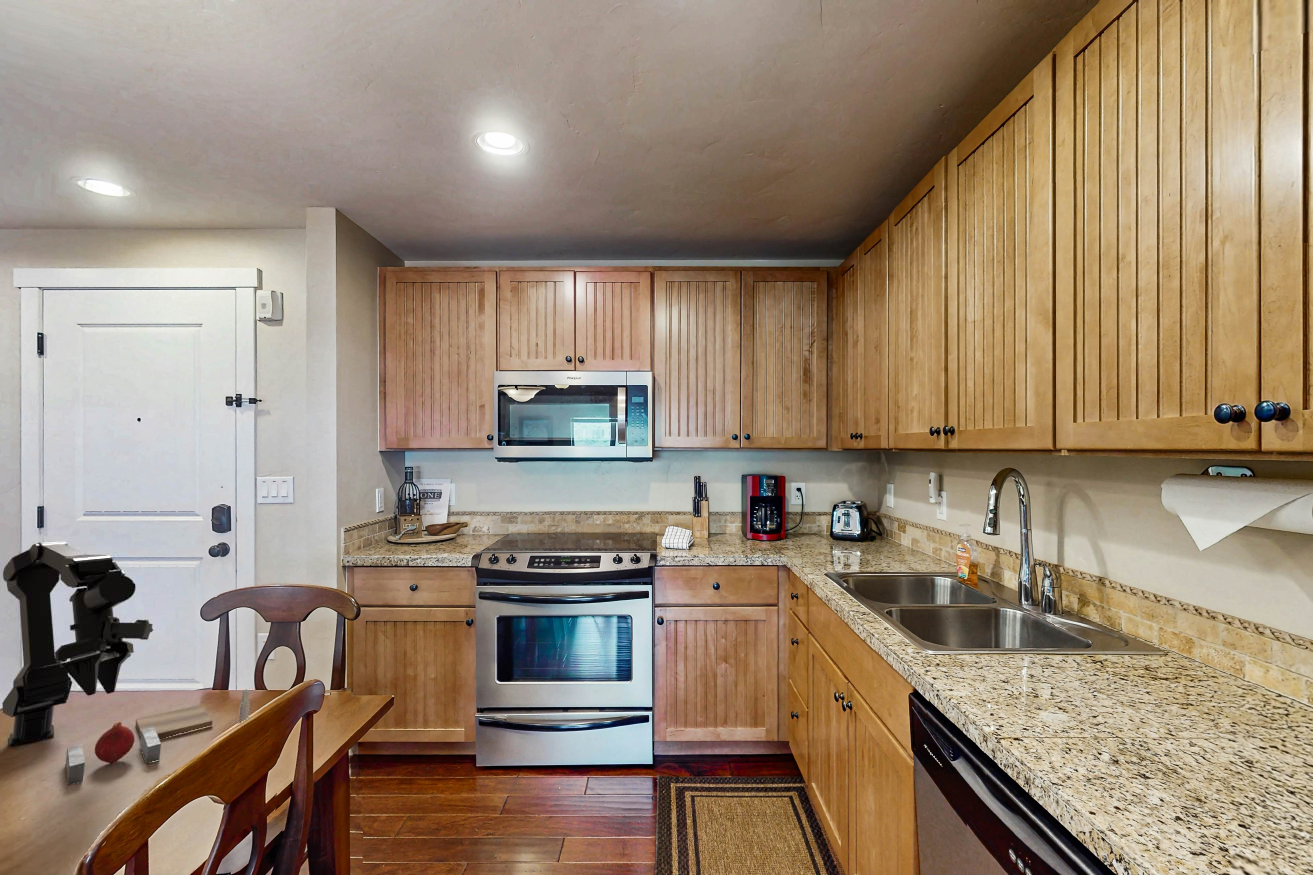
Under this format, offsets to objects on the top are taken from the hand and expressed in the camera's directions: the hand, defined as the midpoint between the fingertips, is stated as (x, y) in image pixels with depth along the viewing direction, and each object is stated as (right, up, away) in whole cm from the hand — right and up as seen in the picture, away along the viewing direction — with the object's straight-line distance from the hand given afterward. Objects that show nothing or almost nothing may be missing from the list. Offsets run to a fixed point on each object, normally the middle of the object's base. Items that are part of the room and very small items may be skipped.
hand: (101, 693), depth 112 cm
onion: (+1, -15, +2) cm, 15 cm away
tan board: (-1, -16, +18) cm, 24 cm away
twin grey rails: (+1, -15, +2) cm, 15 cm away
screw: (+21, -16, +8) cm, 28 cm away
